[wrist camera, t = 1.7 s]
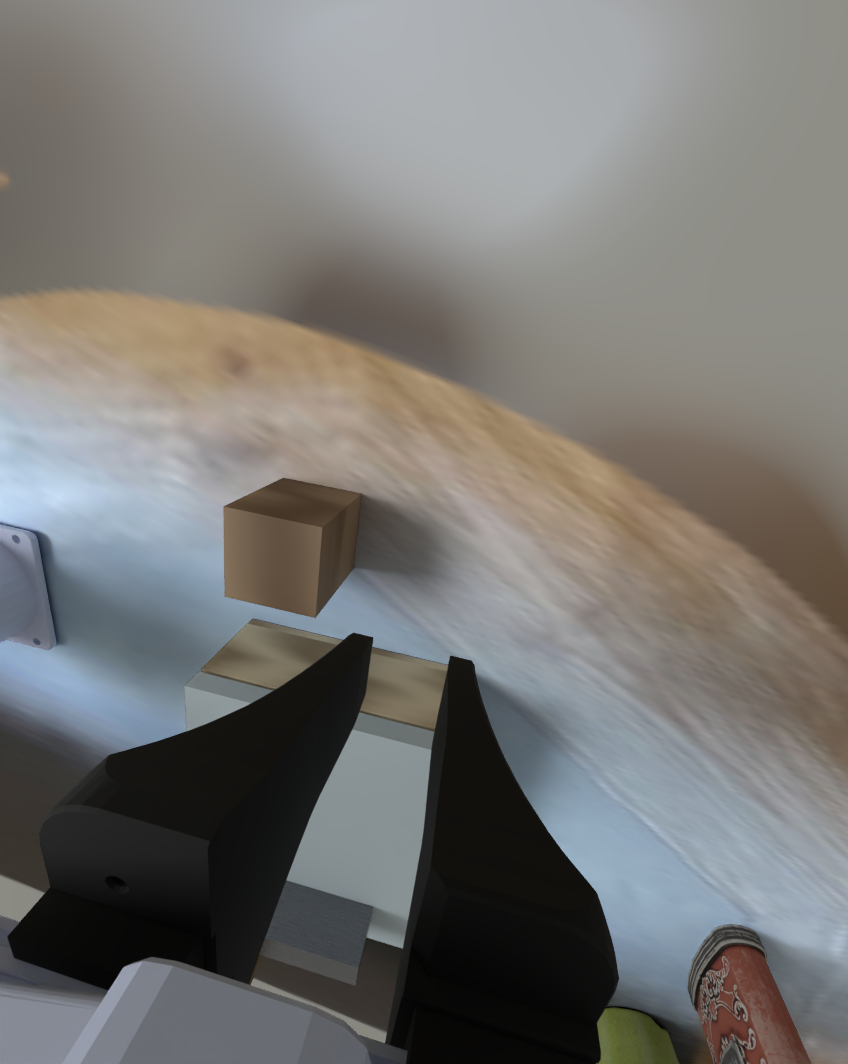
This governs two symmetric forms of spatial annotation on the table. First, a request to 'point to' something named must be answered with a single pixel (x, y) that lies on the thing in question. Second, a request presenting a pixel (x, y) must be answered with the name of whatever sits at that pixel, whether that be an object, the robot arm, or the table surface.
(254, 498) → the small brown block
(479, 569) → the table surface
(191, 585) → the table surface
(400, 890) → the toolbox lid
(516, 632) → the table surface
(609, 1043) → the plant pot
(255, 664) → the brown piece
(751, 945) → the lighter
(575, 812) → the table surface
